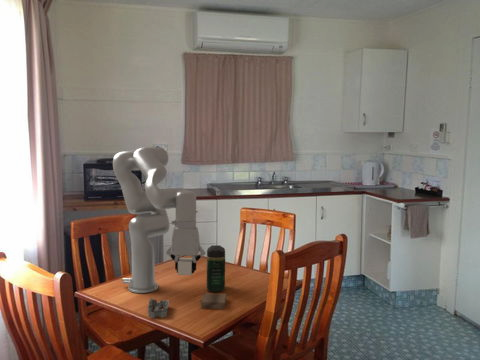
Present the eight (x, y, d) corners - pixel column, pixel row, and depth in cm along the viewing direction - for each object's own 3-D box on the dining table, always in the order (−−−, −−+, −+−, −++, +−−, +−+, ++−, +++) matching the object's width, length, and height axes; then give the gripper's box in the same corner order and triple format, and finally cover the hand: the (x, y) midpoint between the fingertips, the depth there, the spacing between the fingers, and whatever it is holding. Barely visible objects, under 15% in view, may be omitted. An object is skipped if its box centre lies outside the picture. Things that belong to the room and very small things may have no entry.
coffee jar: (225, 292, 187) (225, 249, 185) (206, 292, 187) (206, 249, 185) (224, 284, 197) (225, 243, 195) (206, 285, 196) (206, 243, 194)
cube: (177, 274, 164) (177, 261, 164) (180, 270, 169) (180, 257, 169) (191, 275, 164) (191, 262, 164) (193, 270, 169) (193, 258, 169)
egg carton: (150, 307, 172) (149, 297, 171) (169, 307, 172) (169, 296, 172) (146, 318, 161) (146, 307, 161) (167, 318, 162) (167, 307, 161)
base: (200, 309, 171) (200, 301, 170) (204, 300, 180) (204, 293, 179) (224, 310, 170) (224, 302, 170) (226, 301, 179) (226, 294, 179)
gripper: (160, 225, 161) (161, 274, 164) (207, 227, 161) (207, 276, 163) (165, 221, 169) (165, 268, 171) (209, 222, 168) (209, 269, 170)
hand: (185, 271), depth 167 cm, fingers closed on cube, 5 cm apart
